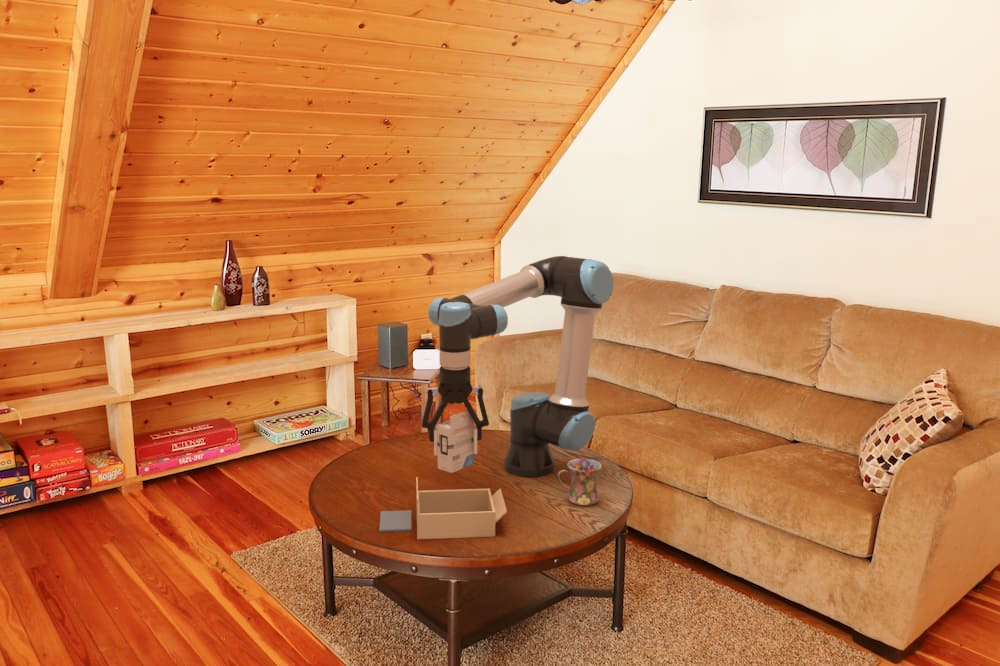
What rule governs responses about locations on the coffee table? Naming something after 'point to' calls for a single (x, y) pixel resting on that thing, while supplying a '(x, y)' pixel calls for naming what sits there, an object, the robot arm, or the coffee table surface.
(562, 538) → the coffee table surface
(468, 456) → the ink box
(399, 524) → the felt pad
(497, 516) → the carton
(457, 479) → the coffee table surface
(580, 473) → the mug
